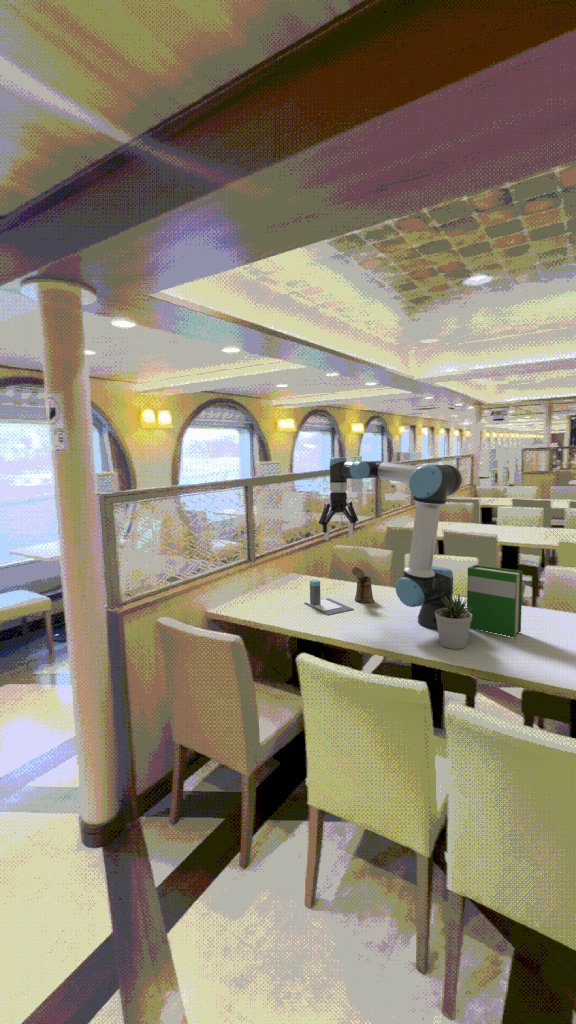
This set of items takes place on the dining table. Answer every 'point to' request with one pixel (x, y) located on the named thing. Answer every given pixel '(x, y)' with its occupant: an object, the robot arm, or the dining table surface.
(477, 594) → the hardback book
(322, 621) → the dining table surface
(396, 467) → the robot arm
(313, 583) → the marker
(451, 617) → the potted plant
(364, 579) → the wooden mug
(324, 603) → the writing mat
